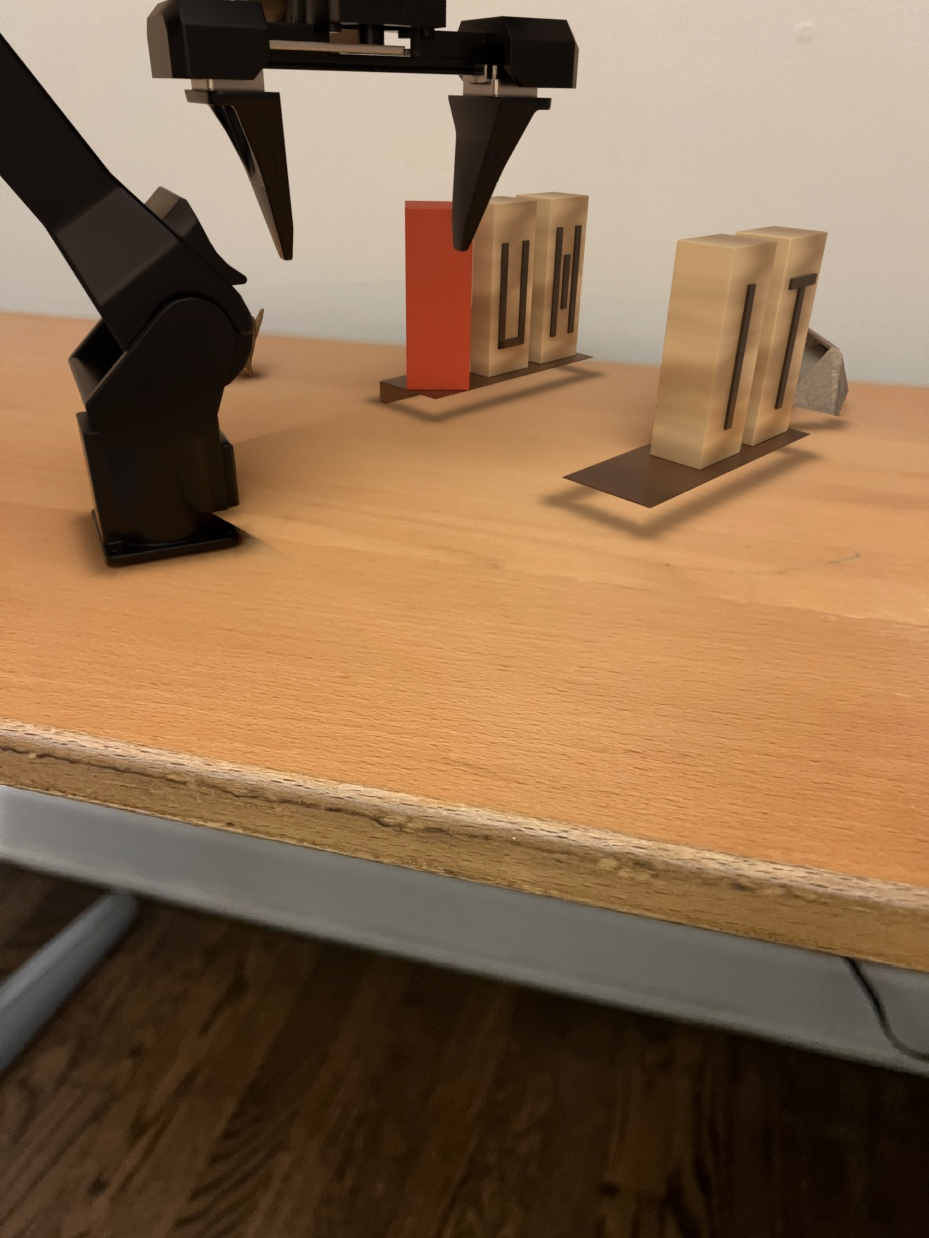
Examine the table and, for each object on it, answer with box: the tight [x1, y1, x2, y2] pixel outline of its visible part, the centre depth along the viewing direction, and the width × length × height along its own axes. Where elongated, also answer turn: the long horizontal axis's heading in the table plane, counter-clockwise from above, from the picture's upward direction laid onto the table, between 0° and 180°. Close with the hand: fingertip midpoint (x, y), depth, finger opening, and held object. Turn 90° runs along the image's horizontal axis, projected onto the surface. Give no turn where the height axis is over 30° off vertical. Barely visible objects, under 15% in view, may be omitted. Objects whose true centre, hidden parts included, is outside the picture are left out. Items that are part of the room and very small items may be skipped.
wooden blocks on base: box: [379, 191, 594, 404], centre depth 69 cm, size 18×6×14 cm, turn 135°
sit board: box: [562, 225, 828, 509], centre depth 52 cm, size 18×6×14 cm, turn 135°
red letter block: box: [404, 200, 474, 391], centre depth 64 cm, size 4×5×12 cm
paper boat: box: [792, 326, 849, 417], centre depth 67 cm, size 12×6×9 cm
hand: (376, 255), depth 45 cm, fingers open, 9 cm apart
